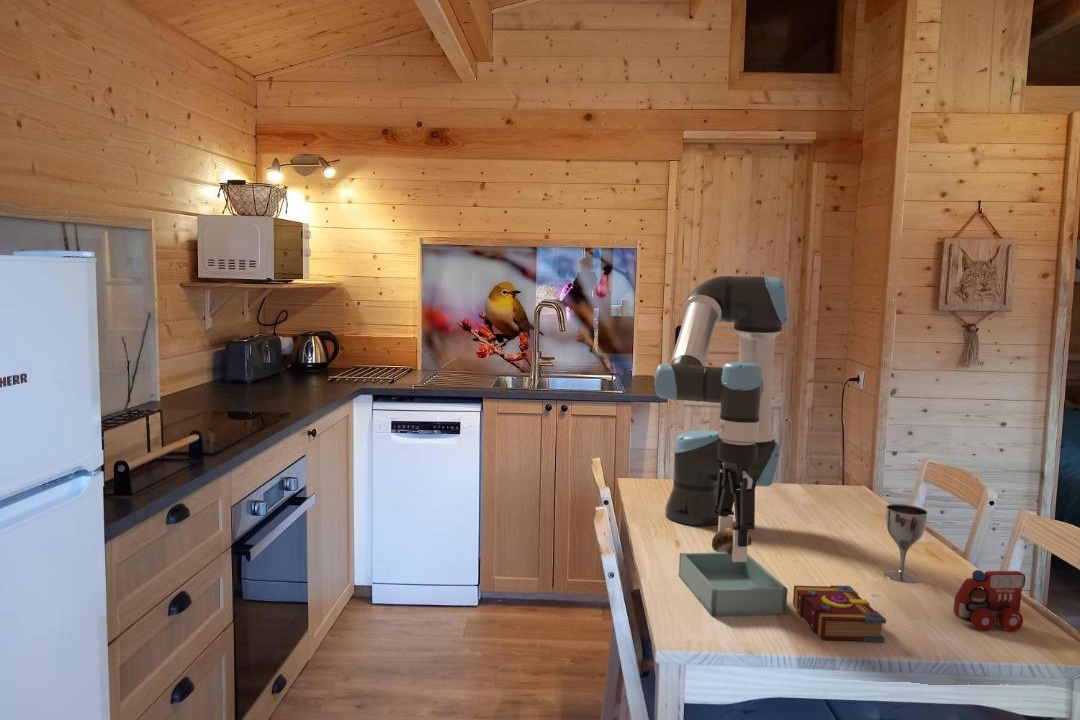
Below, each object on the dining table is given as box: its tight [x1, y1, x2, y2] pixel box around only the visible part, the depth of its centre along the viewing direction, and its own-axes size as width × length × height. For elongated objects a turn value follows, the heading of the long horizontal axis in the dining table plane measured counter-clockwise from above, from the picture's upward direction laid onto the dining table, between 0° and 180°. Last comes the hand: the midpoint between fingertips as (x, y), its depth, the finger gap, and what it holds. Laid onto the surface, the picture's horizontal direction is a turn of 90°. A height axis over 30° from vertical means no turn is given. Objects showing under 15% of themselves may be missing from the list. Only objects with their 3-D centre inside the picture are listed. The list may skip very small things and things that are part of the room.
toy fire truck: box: [953, 569, 1026, 632], centre depth 140 cm, size 7×12×10 cm, turn 91°
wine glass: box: [883, 503, 928, 584], centre depth 162 cm, size 8×8×15 cm
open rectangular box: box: [678, 552, 788, 617], centre depth 150 cm, size 20×15×5 cm
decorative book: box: [792, 585, 887, 643], centre depth 139 cm, size 11×16×5 cm
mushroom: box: [711, 528, 753, 557], centre depth 149 cm, size 8×8×6 cm
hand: (731, 554), depth 149 cm, fingers closed on mushroom, 7 cm apart
